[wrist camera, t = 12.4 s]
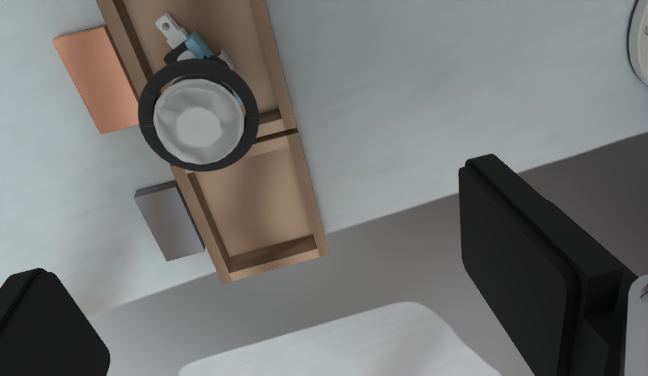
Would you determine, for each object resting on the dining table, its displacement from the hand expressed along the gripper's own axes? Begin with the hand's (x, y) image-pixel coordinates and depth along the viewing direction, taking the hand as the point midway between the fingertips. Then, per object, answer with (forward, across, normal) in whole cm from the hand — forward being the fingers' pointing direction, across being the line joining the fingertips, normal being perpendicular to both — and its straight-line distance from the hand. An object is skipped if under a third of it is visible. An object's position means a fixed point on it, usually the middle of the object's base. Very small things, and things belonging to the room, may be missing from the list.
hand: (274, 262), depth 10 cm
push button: (+20, +3, -1) cm, 21 cm away
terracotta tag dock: (+21, +5, -1) cm, 22 cm away
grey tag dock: (+21, +5, +10) cm, 24 cm away
